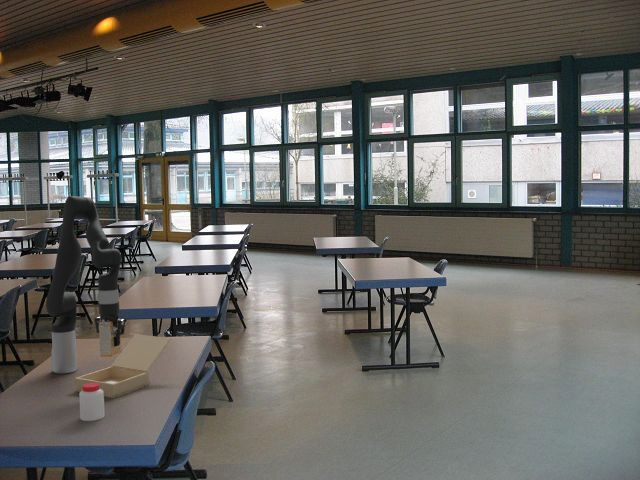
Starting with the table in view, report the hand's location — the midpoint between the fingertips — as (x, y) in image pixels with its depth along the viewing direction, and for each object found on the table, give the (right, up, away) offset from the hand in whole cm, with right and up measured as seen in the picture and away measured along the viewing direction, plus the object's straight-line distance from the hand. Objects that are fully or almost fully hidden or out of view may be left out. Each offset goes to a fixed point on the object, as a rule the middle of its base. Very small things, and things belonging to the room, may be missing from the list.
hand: (110, 345), depth 256 cm
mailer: (0, -17, +1) cm, 17 cm away
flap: (+8, -5, +14) cm, 17 cm away
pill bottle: (+4, -19, -31) cm, 37 cm away
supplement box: (0, -4, 0) cm, 4 cm away
